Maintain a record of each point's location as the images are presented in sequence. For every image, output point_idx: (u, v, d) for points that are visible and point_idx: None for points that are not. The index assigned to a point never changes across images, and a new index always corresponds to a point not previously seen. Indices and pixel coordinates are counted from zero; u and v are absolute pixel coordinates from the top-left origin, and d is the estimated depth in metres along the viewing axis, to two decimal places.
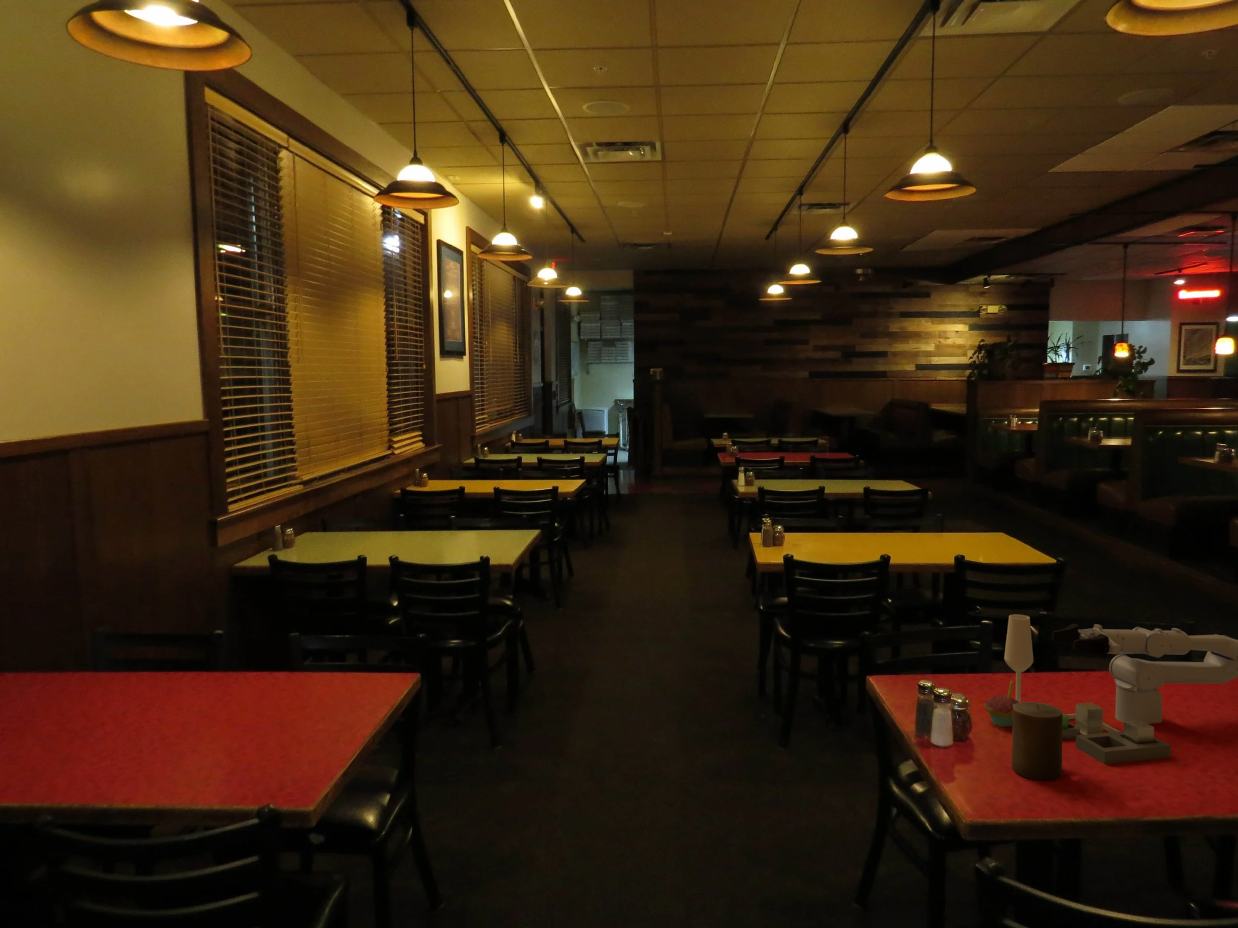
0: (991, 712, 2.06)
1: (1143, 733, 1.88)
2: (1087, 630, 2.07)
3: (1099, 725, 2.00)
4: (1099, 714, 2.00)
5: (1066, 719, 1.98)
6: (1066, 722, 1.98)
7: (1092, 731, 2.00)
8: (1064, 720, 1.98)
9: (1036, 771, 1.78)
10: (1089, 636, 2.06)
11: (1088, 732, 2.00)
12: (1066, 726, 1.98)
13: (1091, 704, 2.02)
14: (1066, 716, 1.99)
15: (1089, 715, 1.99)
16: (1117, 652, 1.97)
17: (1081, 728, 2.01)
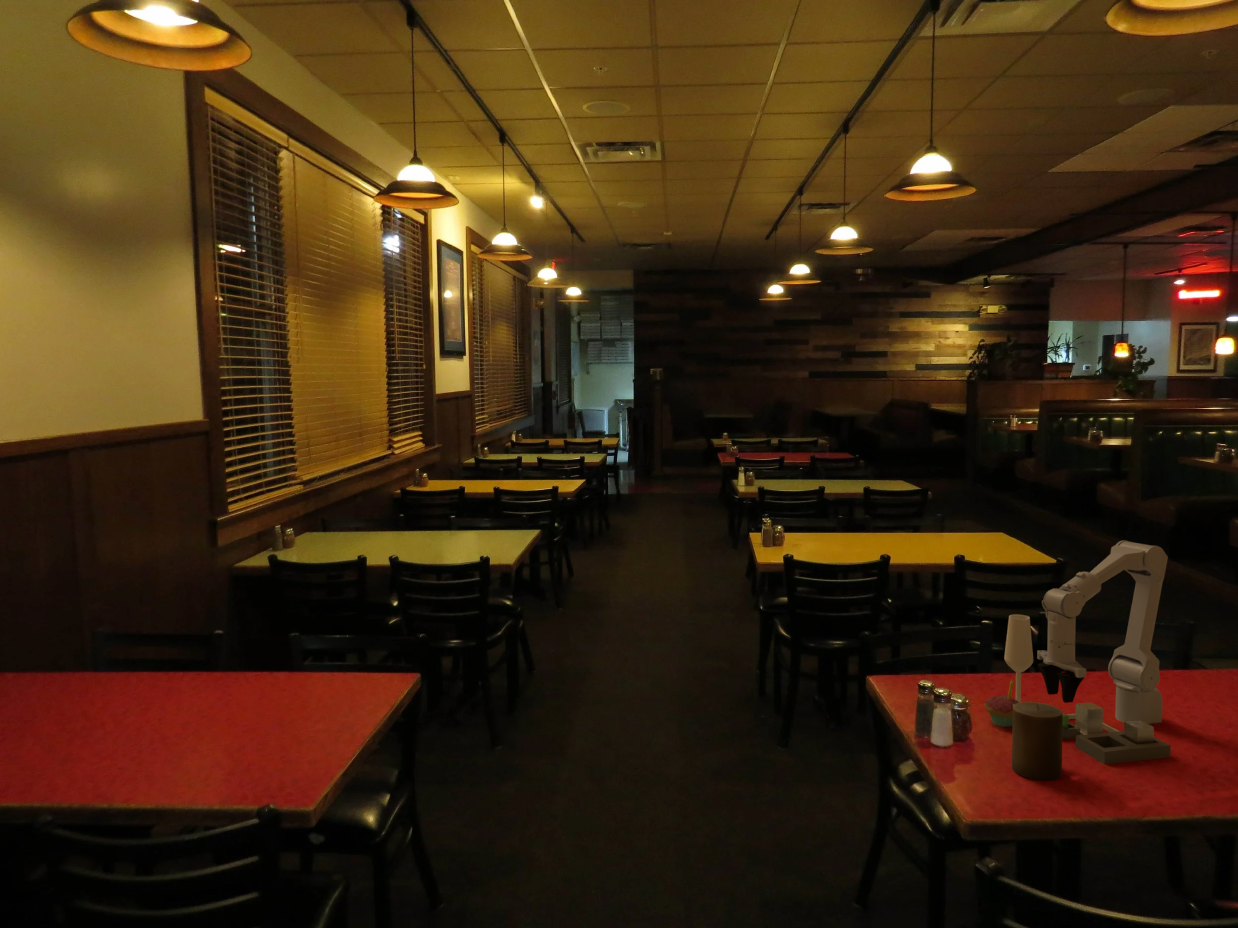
0: (991, 712, 2.05)
1: (1143, 733, 1.88)
2: None
3: (1099, 725, 2.00)
4: (1099, 714, 2.00)
5: (1066, 719, 1.98)
6: (1066, 722, 1.98)
7: (1092, 731, 2.00)
8: (1064, 720, 1.98)
9: (1036, 771, 1.78)
10: None
11: (1088, 732, 2.00)
12: (1066, 726, 1.98)
13: (1091, 704, 2.02)
14: (1066, 716, 1.99)
15: (1089, 715, 1.99)
16: (1084, 671, 1.92)
17: (1081, 728, 2.01)
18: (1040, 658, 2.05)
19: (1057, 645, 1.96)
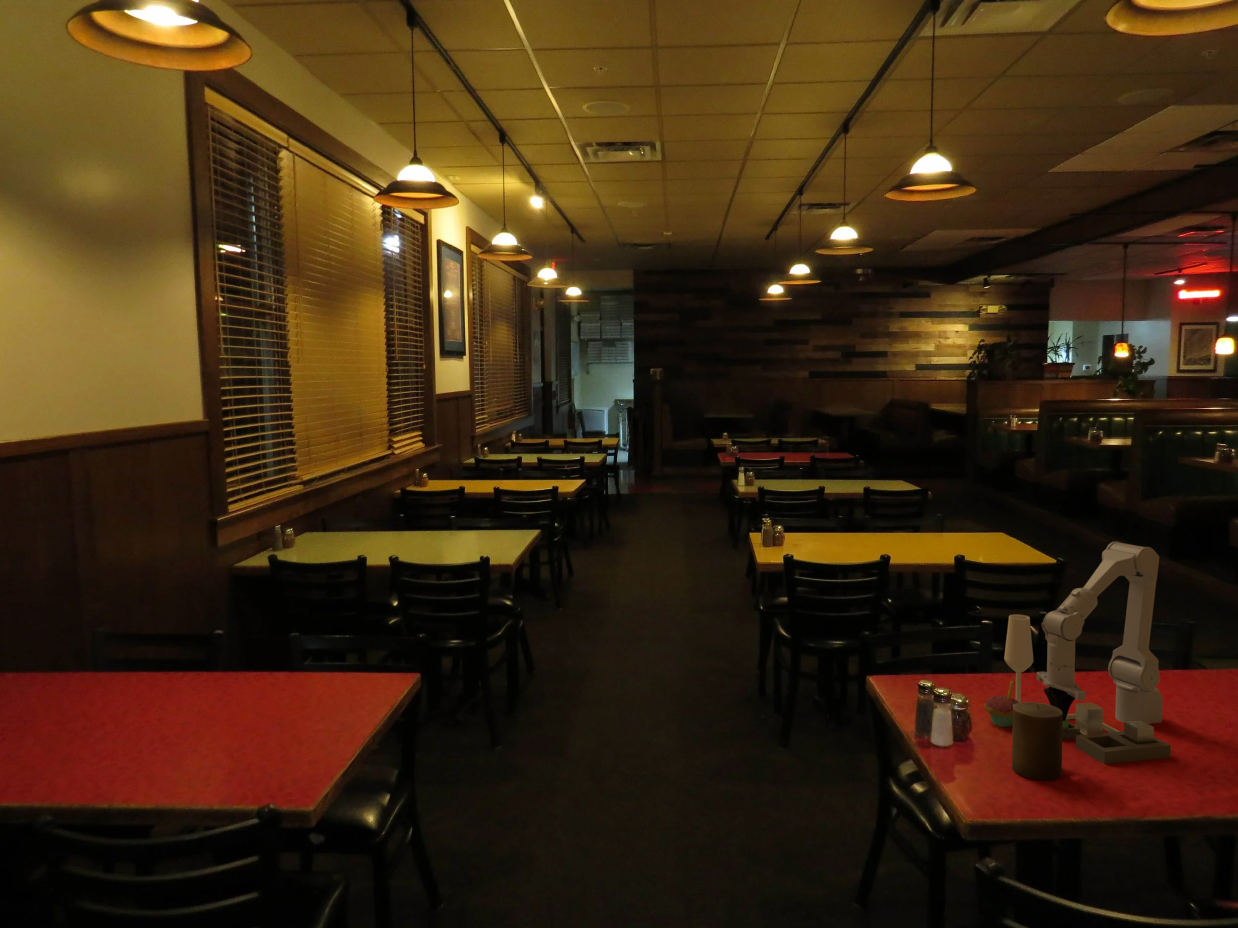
0: (991, 712, 2.05)
1: (1143, 733, 1.88)
2: None
3: (1099, 725, 2.00)
4: (1099, 714, 2.00)
5: (1066, 723, 1.98)
6: (1066, 726, 1.98)
7: (1092, 731, 2.00)
8: (1064, 724, 1.98)
9: (1036, 771, 1.78)
10: None
11: (1088, 732, 2.00)
12: None
13: (1091, 704, 2.02)
14: (1066, 720, 1.99)
15: (1089, 715, 1.99)
16: (1084, 694, 1.92)
17: (1081, 728, 2.01)
18: (1040, 679, 2.05)
19: (1057, 667, 1.97)
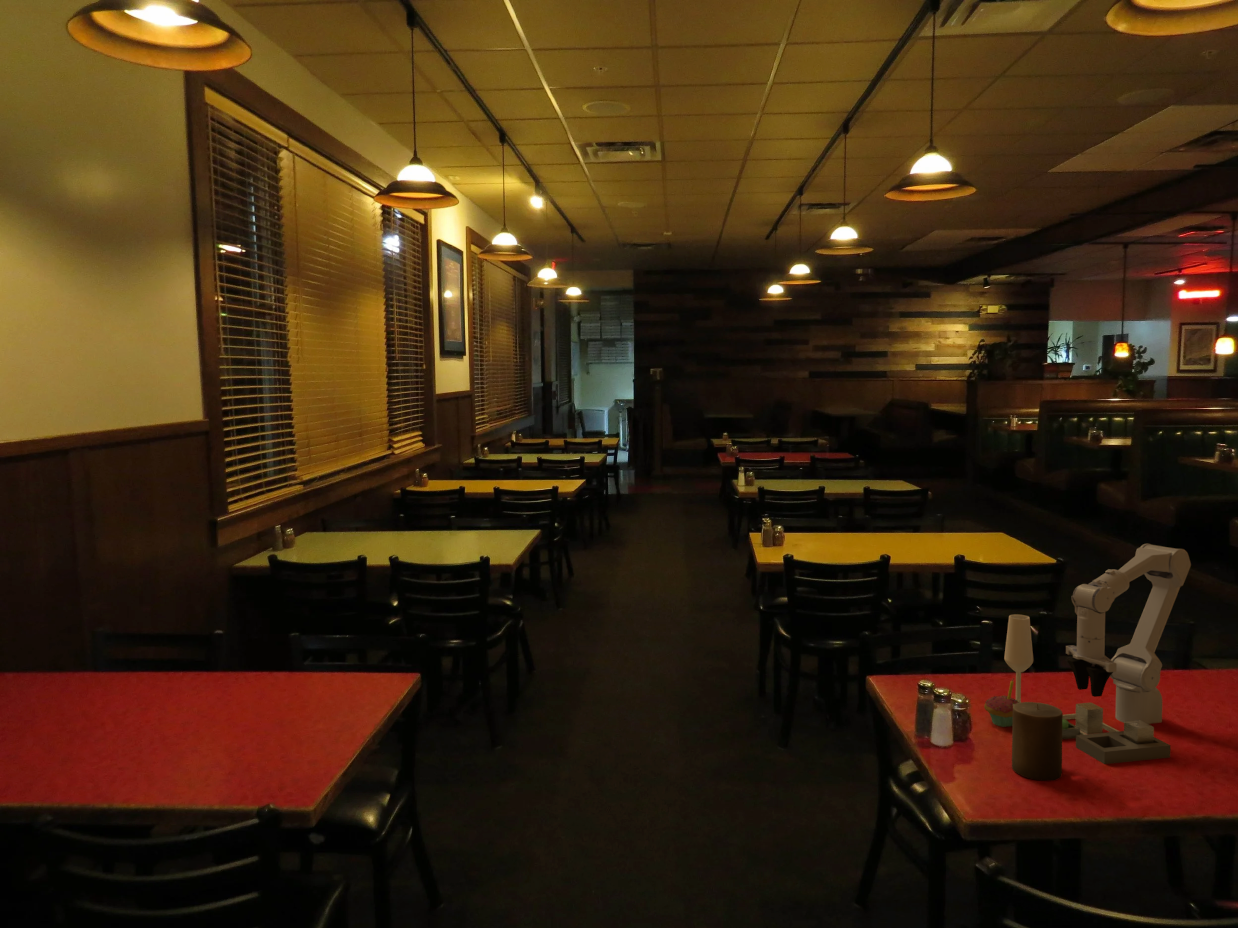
0: (991, 712, 2.05)
1: (1143, 733, 1.88)
2: None
3: (1099, 725, 2.00)
4: (1099, 714, 2.00)
5: (1066, 725, 1.98)
6: None
7: (1092, 731, 2.00)
8: (1064, 726, 1.98)
9: (1036, 771, 1.78)
10: None
11: (1088, 732, 2.00)
12: None
13: (1091, 704, 2.02)
14: (1066, 722, 1.99)
15: (1089, 715, 1.99)
16: (1115, 665, 1.93)
17: (1081, 728, 2.01)
18: (1069, 653, 2.07)
19: (1087, 640, 1.98)
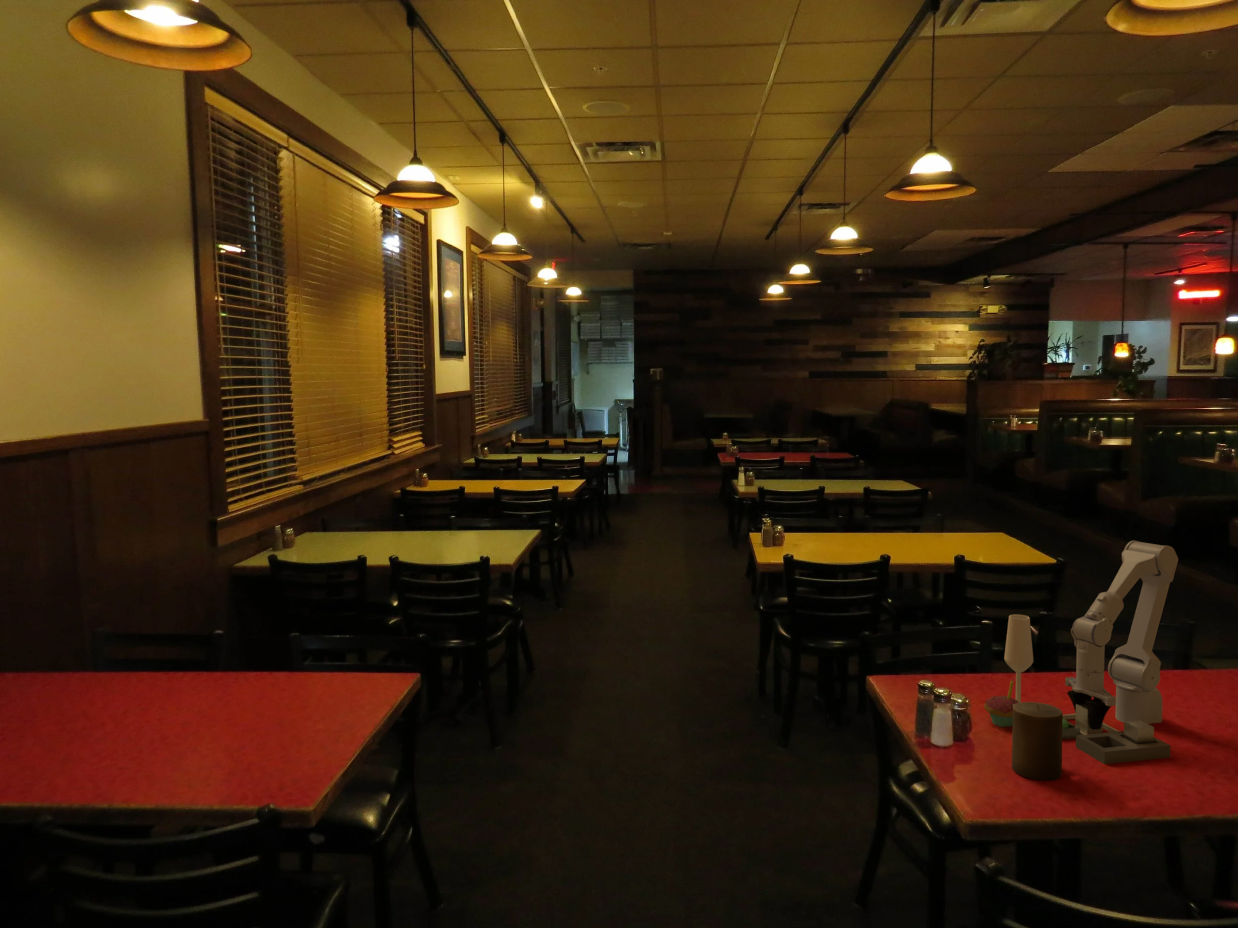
0: (991, 712, 2.06)
1: (1143, 733, 1.88)
2: None
3: None
4: None
5: (1066, 725, 1.98)
6: None
7: (1092, 731, 2.00)
8: (1064, 726, 1.98)
9: (1036, 771, 1.78)
10: None
11: (1088, 732, 2.00)
12: None
13: None
14: (1066, 722, 1.99)
15: (1089, 715, 1.99)
16: (1114, 699, 1.94)
17: (1081, 728, 2.01)
18: (1068, 685, 2.07)
19: (1086, 673, 1.99)
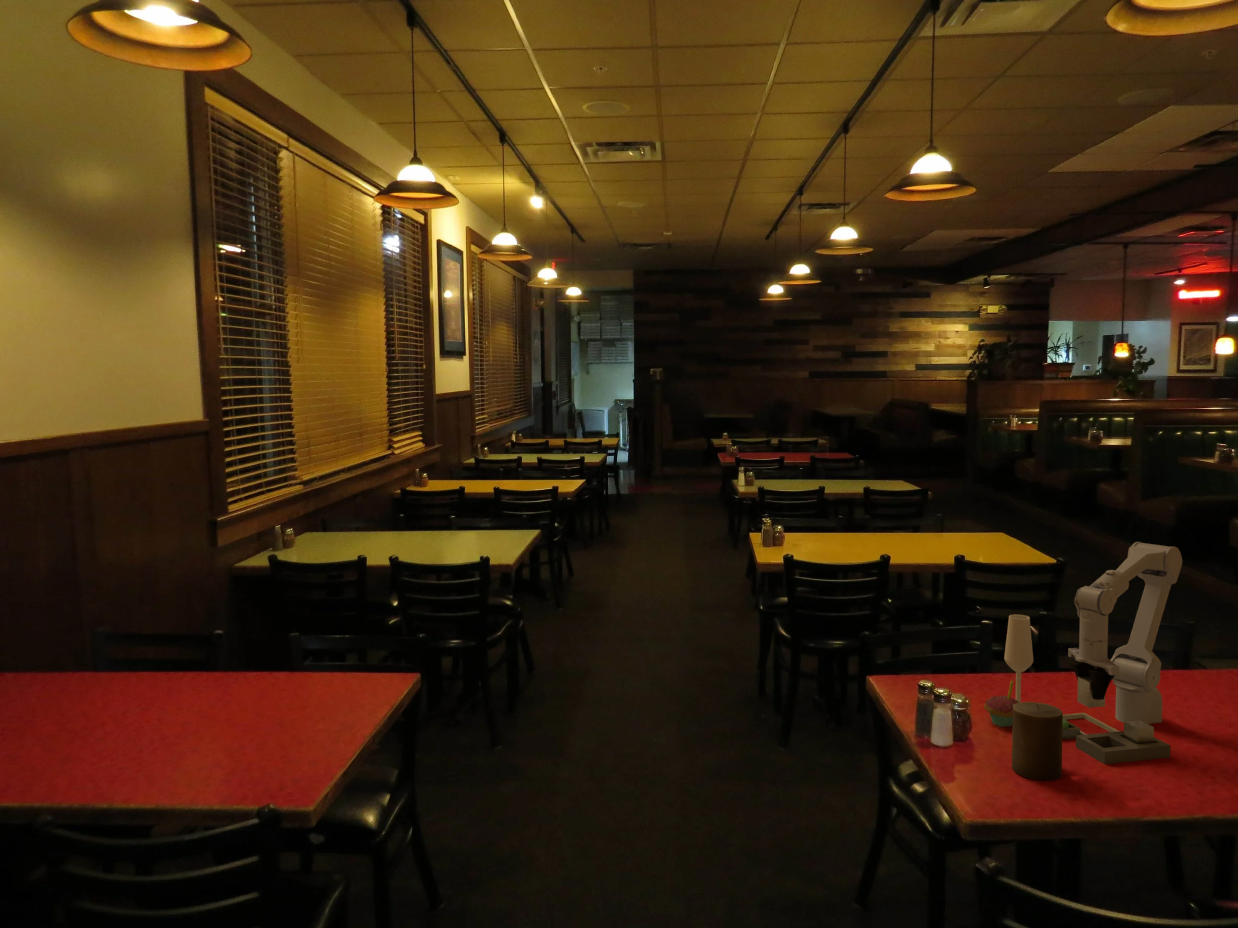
0: (991, 712, 2.05)
1: (1143, 733, 1.88)
2: None
3: None
4: None
5: (1066, 725, 1.98)
6: None
7: (1094, 704, 1.97)
8: (1064, 726, 1.98)
9: (1036, 771, 1.78)
10: None
11: (1090, 705, 1.97)
12: None
13: None
14: (1066, 722, 1.99)
15: (1092, 687, 1.96)
16: (1117, 668, 1.91)
17: (1083, 701, 1.99)
18: (1071, 656, 2.04)
19: (1089, 642, 1.96)
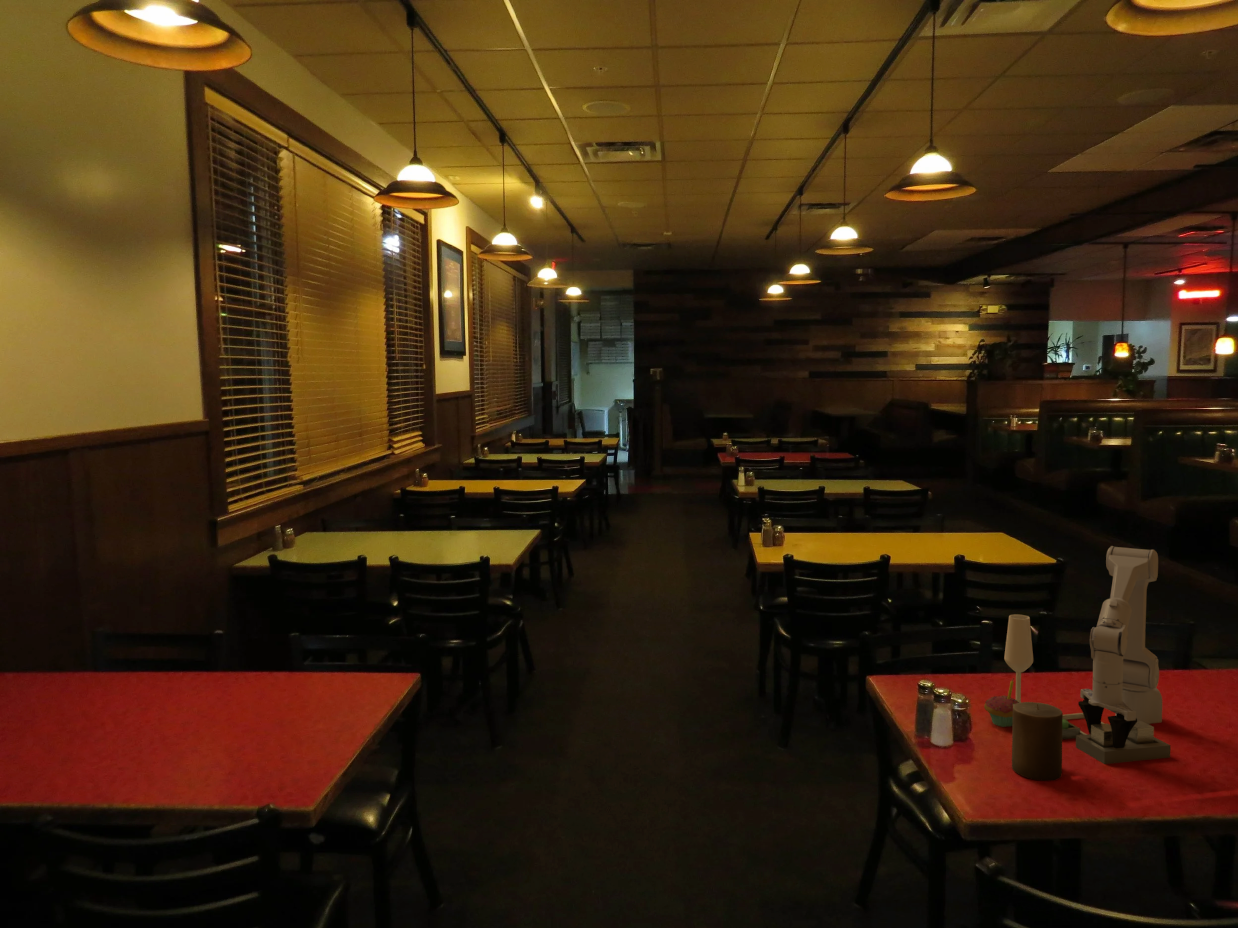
0: (991, 712, 2.05)
1: (1143, 733, 1.88)
2: None
3: None
4: None
5: (1066, 725, 1.98)
6: None
7: None
8: (1064, 726, 1.98)
9: (1036, 771, 1.78)
10: None
11: None
12: None
13: (1108, 725, 1.89)
14: (1066, 722, 1.99)
15: (1106, 737, 1.86)
16: (1134, 714, 1.81)
17: None
18: (1084, 697, 1.94)
19: (1104, 685, 1.85)
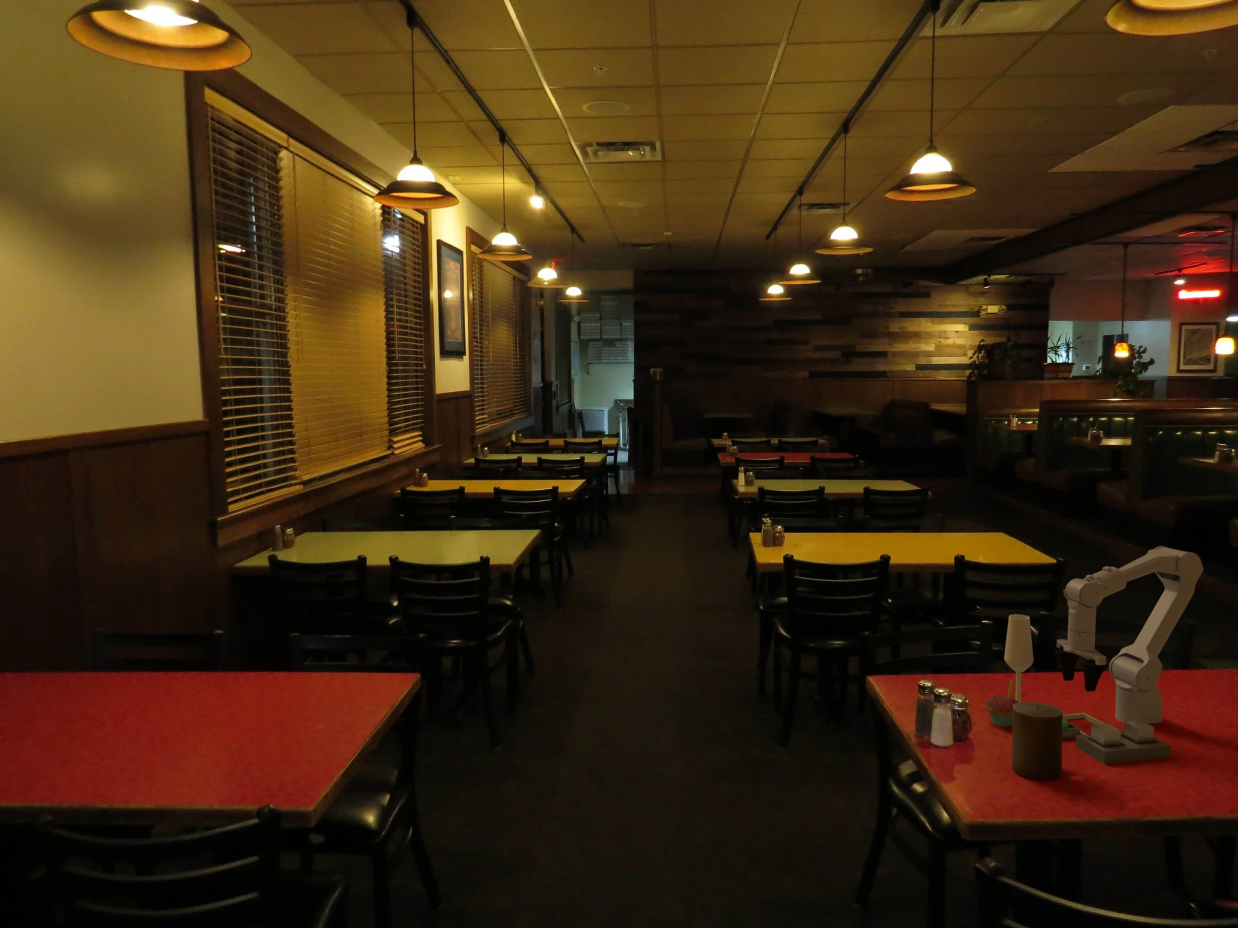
0: (991, 712, 2.05)
1: (1143, 733, 1.88)
2: None
3: None
4: (1116, 737, 1.86)
5: (1066, 725, 1.98)
6: None
7: None
8: (1064, 726, 1.98)
9: (1036, 771, 1.78)
10: None
11: None
12: None
13: (1108, 725, 1.89)
14: (1066, 722, 1.99)
15: (1106, 737, 1.86)
16: (1104, 659, 1.97)
17: None
18: (1060, 647, 2.10)
19: (1078, 633, 2.01)
